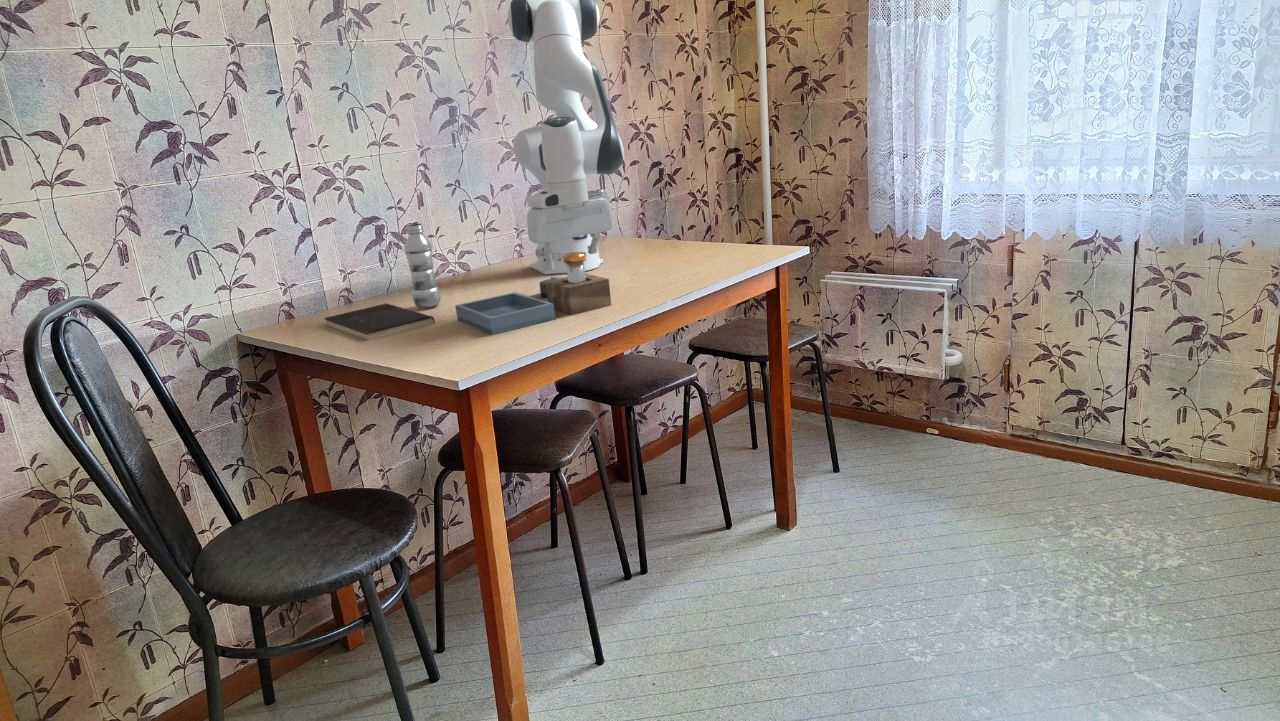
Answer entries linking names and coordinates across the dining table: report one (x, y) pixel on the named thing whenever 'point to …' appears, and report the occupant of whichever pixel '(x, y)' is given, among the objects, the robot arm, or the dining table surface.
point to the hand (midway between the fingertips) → (575, 257)
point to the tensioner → (575, 294)
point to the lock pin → (575, 266)
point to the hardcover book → (379, 321)
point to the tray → (505, 312)
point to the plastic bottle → (421, 267)
